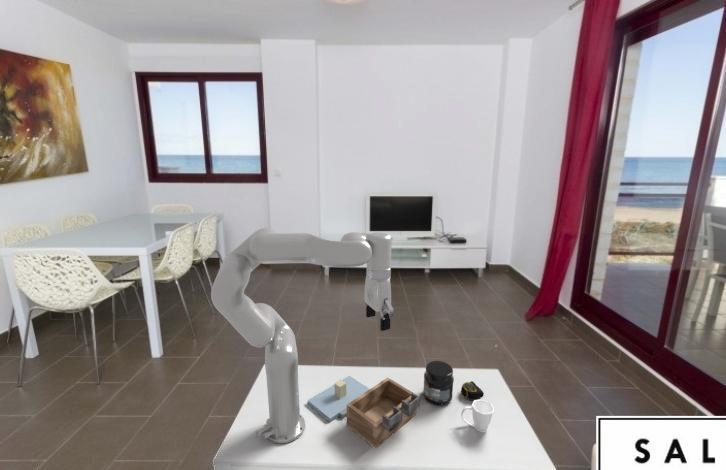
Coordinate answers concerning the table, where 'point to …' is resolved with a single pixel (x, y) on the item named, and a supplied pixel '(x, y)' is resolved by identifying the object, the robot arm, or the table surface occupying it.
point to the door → (337, 398)
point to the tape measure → (471, 391)
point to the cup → (480, 414)
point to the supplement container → (438, 383)
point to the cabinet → (381, 411)
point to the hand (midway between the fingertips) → (377, 322)
